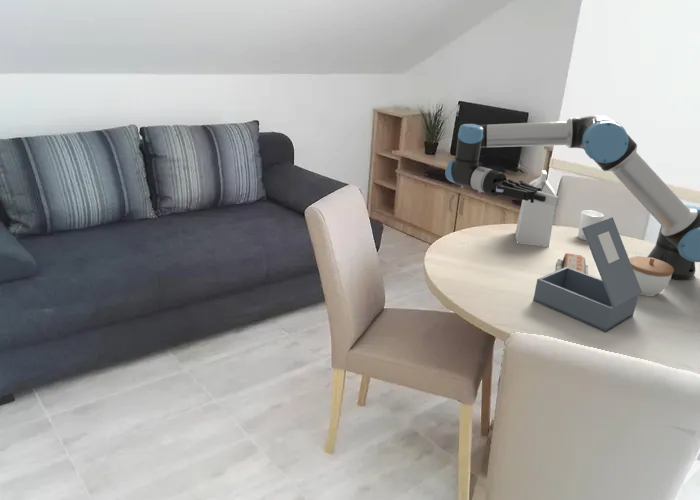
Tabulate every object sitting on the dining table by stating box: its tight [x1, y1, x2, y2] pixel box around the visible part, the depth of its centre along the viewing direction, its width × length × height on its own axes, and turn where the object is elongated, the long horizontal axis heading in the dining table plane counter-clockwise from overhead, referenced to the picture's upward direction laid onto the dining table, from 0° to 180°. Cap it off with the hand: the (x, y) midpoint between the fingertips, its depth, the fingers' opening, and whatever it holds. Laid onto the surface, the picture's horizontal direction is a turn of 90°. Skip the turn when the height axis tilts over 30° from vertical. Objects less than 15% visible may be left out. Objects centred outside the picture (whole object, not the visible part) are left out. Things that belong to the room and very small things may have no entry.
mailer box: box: [532, 267, 640, 333], centre depth 162 cm, size 22×16×7 cm
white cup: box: [577, 209, 604, 241], centre depth 218 cm, size 8×8×10 cm
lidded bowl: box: [628, 255, 674, 297], centre depth 175 cm, size 13×13×11 cm
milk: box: [515, 169, 557, 248], centre depth 210 cm, size 12×12×26 cm
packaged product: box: [555, 252, 589, 275], centre depth 185 cm, size 18×5×10 cm
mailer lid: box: [582, 216, 642, 308], centre depth 153 cm, size 22×16×1 cm
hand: (557, 201), depth 162 cm, fingers closed
